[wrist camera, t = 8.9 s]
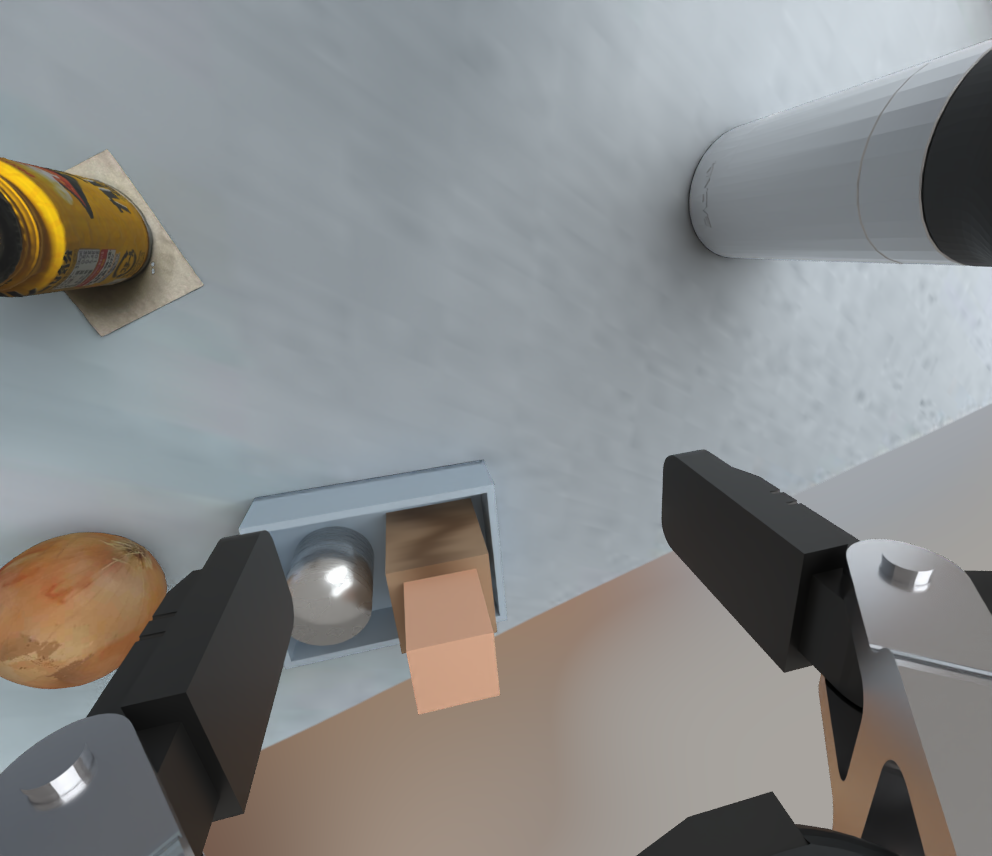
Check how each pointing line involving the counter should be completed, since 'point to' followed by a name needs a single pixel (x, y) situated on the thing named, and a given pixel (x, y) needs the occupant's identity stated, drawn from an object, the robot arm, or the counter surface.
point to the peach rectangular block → (449, 641)
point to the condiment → (87, 242)
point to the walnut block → (434, 551)
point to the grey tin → (331, 585)
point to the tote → (375, 536)
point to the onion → (75, 608)
